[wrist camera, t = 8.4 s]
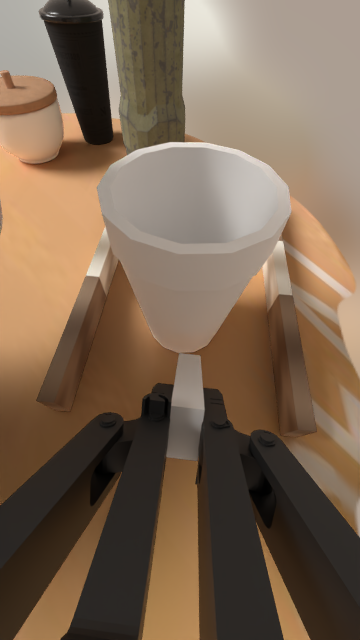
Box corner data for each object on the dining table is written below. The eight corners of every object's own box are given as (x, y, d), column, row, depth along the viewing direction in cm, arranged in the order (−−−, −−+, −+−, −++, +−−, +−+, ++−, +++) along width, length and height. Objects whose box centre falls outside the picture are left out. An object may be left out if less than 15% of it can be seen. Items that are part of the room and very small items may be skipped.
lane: (296, 437, 18) (316, 431, 16) (54, 410, 19) (36, 400, 16) (265, 208, 33) (273, 186, 30) (129, 196, 33) (126, 173, 31)
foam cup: (249, 355, 22) (331, 234, 10) (145, 383, 20) (114, 275, 9) (212, 276, 26) (242, 135, 15) (126, 293, 25) (89, 150, 14)
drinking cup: (75, 150, 39) (2, -93, 22) (76, 129, 43) (14, -92, 26) (123, 147, 40) (88, -88, 23) (119, 126, 44) (87, -88, 27)
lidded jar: (29, 133, 42) (-4, 54, 34) (86, 144, 41) (65, 64, 33) (-14, 164, 37) (-66, 79, 29) (49, 178, 35) (13, 92, 27)
